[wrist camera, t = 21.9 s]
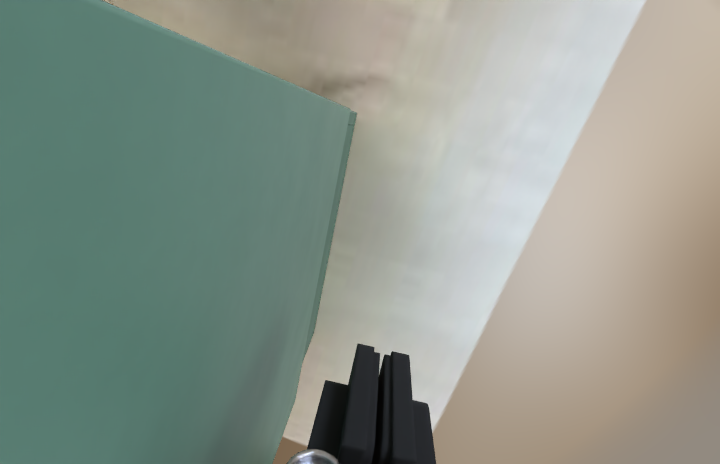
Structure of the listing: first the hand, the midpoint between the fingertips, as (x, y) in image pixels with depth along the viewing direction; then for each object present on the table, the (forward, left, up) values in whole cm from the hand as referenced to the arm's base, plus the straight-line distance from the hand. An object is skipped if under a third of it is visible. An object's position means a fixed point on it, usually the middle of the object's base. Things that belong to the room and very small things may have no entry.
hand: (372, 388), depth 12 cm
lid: (0, -4, +2) cm, 5 cm away
